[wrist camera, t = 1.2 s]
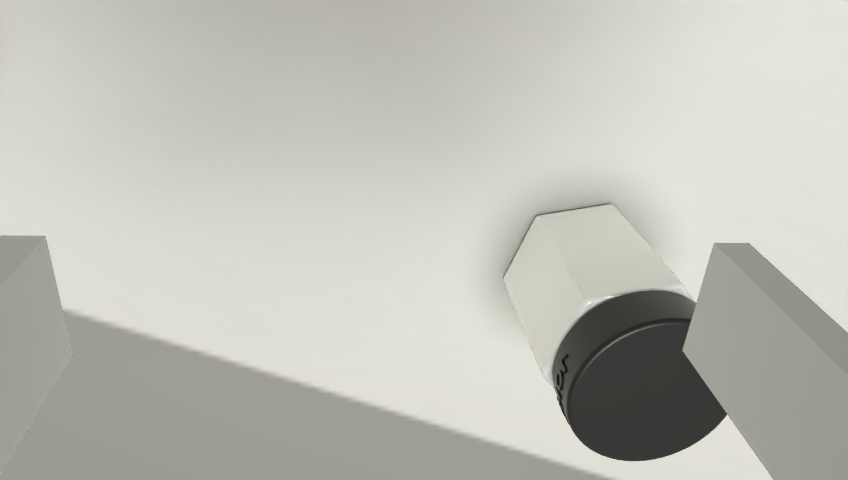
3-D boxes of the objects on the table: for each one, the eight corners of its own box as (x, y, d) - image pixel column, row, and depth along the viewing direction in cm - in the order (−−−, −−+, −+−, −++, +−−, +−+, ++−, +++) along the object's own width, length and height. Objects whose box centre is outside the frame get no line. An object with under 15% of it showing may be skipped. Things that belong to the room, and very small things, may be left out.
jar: (478, 255, 40) (526, 386, 29) (594, 173, 38) (691, 279, 27) (556, 348, 43) (625, 494, 33) (665, 277, 42) (775, 406, 31)
